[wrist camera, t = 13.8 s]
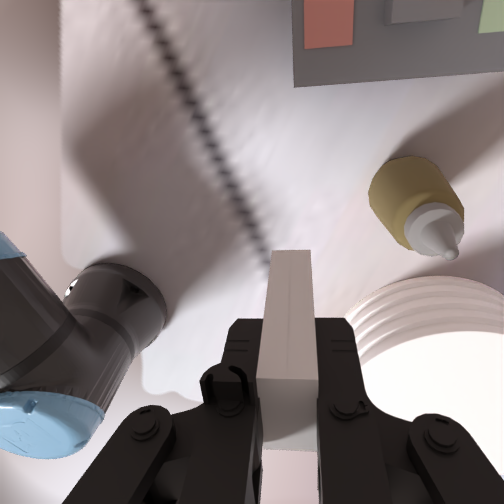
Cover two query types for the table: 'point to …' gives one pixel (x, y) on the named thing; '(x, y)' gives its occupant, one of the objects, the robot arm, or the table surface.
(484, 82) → the table surface
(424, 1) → the switch block
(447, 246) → the squeeze bottle
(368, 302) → the plate stack
